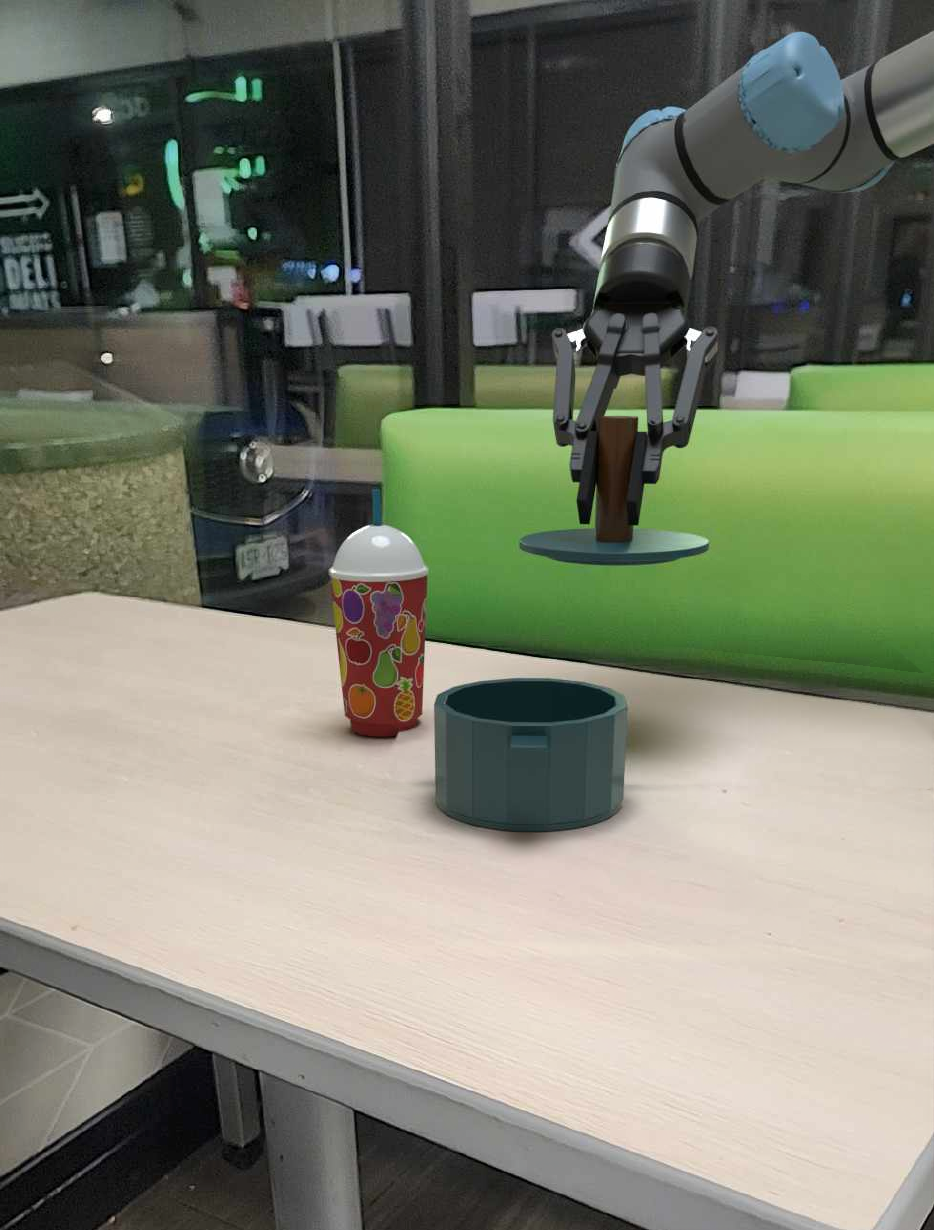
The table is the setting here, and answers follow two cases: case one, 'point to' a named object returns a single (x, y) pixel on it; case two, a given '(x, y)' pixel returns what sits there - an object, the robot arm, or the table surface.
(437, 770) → the tin
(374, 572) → the smoothie
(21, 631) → the table surface
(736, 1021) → the table surface
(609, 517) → the lid
